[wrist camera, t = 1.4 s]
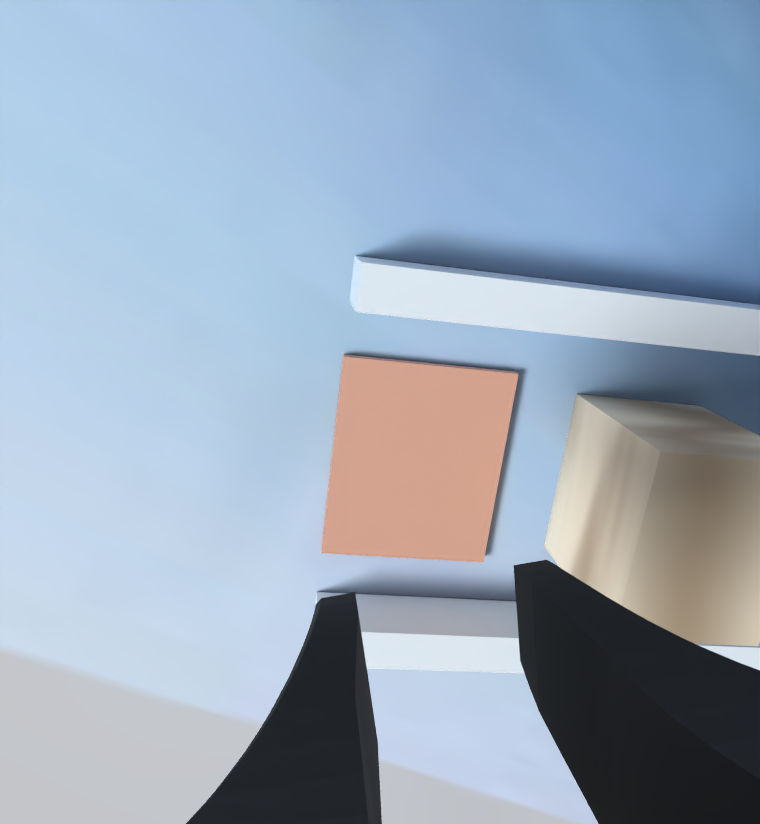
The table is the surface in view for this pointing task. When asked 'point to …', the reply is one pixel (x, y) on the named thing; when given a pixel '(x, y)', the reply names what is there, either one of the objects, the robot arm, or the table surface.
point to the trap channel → (468, 442)
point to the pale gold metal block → (663, 515)
